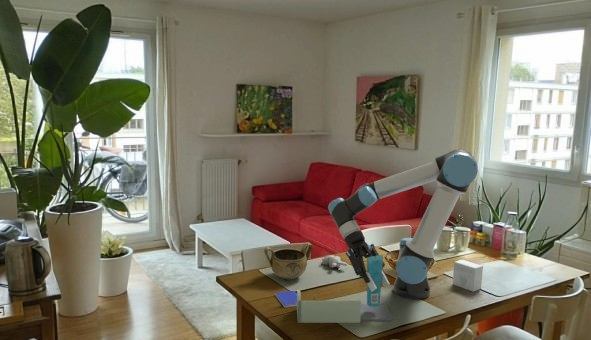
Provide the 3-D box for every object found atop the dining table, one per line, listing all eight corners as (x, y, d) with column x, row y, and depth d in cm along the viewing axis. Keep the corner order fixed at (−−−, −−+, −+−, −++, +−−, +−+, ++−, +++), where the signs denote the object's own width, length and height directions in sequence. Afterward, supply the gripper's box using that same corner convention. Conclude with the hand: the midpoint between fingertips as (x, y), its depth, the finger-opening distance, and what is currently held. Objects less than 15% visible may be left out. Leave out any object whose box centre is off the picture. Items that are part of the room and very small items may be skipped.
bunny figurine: (336, 252, 237) (349, 259, 223) (336, 262, 237) (349, 269, 223) (318, 254, 234) (330, 261, 220) (319, 264, 234) (331, 271, 220)
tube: (375, 299, 184) (378, 252, 180) (384, 304, 180) (387, 256, 177) (361, 304, 179) (363, 256, 176) (370, 309, 175) (372, 259, 172)
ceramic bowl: (304, 268, 226) (305, 237, 224) (318, 281, 210) (319, 248, 208) (259, 273, 219) (260, 242, 216) (270, 287, 203) (270, 253, 201)
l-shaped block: (355, 309, 183) (356, 289, 182) (360, 322, 172) (360, 302, 171) (296, 308, 183) (297, 289, 181) (297, 322, 172) (298, 302, 170)
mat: (385, 306, 186) (385, 304, 186) (392, 320, 174) (392, 319, 174) (355, 306, 186) (355, 304, 186) (360, 320, 174) (360, 319, 174)
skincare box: (481, 288, 205) (483, 265, 203) (473, 292, 201) (475, 268, 199) (460, 281, 213) (462, 258, 211) (452, 284, 209) (453, 261, 207)
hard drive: (304, 302, 186) (293, 290, 198) (284, 305, 184) (275, 292, 195) (304, 306, 187) (293, 293, 198) (284, 309, 184) (275, 296, 195)
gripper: (364, 235, 194) (392, 286, 184) (329, 243, 183) (356, 298, 172) (374, 226, 189) (404, 277, 179) (338, 233, 178) (367, 289, 167)
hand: (380, 287), depth 175 cm, fingers closed on tube, 6 cm apart
